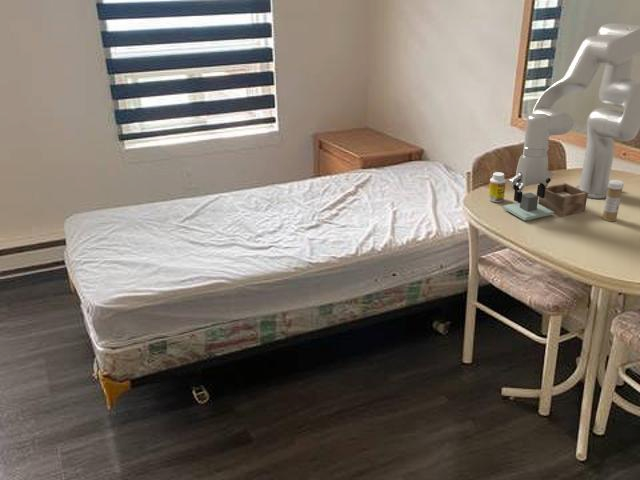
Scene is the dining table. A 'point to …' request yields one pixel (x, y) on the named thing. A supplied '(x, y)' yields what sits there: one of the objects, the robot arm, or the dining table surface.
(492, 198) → the supplement bottle
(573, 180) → the dining table surface
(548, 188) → the storage box
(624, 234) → the dining table surface
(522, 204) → the lid
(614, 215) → the sprinkles bottle
